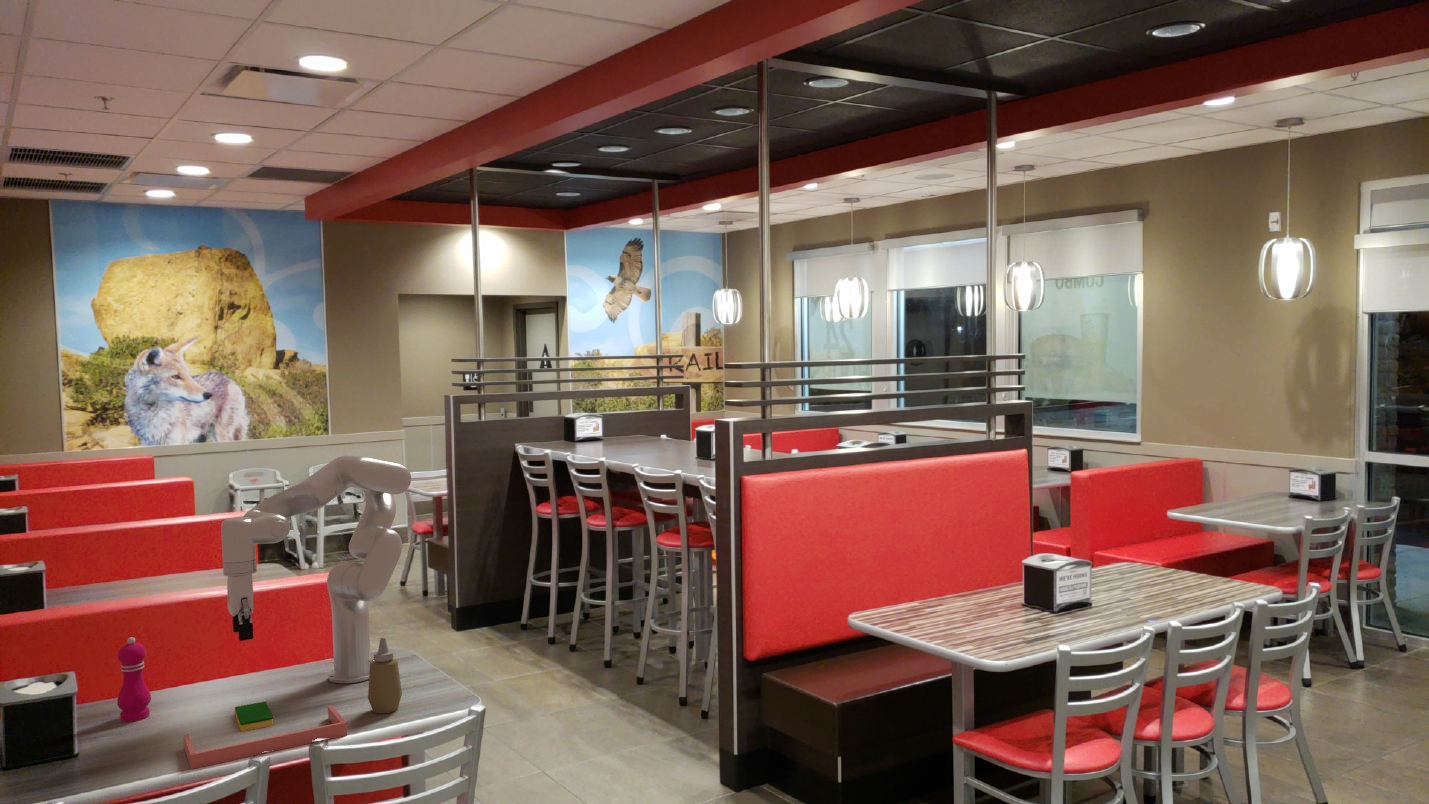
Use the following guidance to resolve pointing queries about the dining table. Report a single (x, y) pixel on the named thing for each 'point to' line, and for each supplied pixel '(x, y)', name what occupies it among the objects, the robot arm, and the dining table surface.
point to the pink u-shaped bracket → (265, 743)
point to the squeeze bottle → (384, 681)
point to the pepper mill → (133, 683)
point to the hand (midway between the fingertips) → (243, 635)
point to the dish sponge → (253, 716)
